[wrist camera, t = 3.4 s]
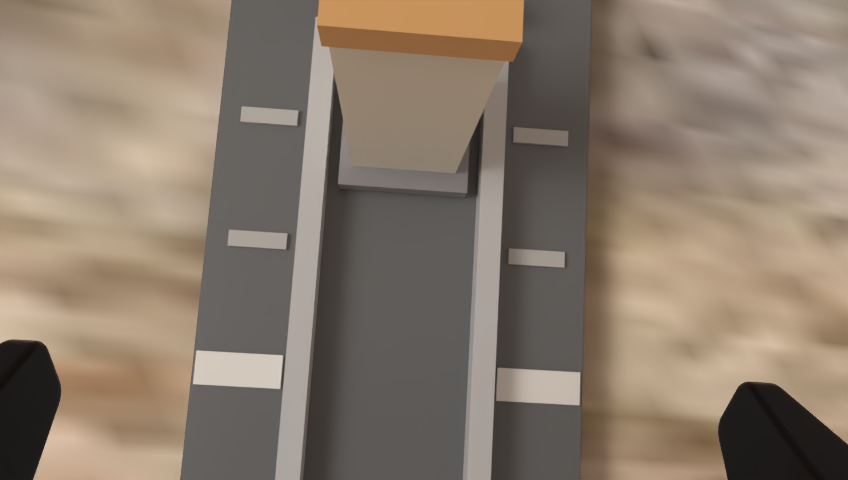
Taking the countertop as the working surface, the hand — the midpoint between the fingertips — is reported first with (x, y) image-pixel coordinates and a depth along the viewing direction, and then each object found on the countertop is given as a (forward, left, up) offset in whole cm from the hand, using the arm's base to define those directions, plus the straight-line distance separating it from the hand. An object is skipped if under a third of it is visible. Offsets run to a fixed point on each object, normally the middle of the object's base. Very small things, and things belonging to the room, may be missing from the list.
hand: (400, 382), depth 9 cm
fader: (+7, +3, -12) cm, 14 cm away
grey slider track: (+2, +1, -13) cm, 13 cm away
